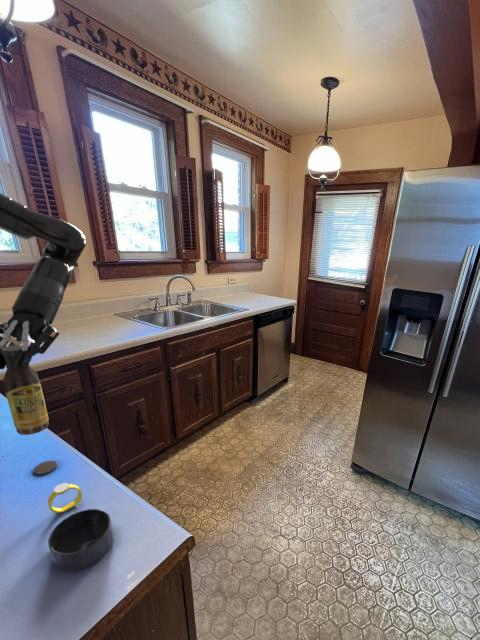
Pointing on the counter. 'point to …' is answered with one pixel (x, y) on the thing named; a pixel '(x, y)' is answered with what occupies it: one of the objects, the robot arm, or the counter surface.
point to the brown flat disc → (45, 467)
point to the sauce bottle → (24, 395)
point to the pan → (81, 540)
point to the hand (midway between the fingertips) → (8, 368)
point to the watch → (60, 490)
